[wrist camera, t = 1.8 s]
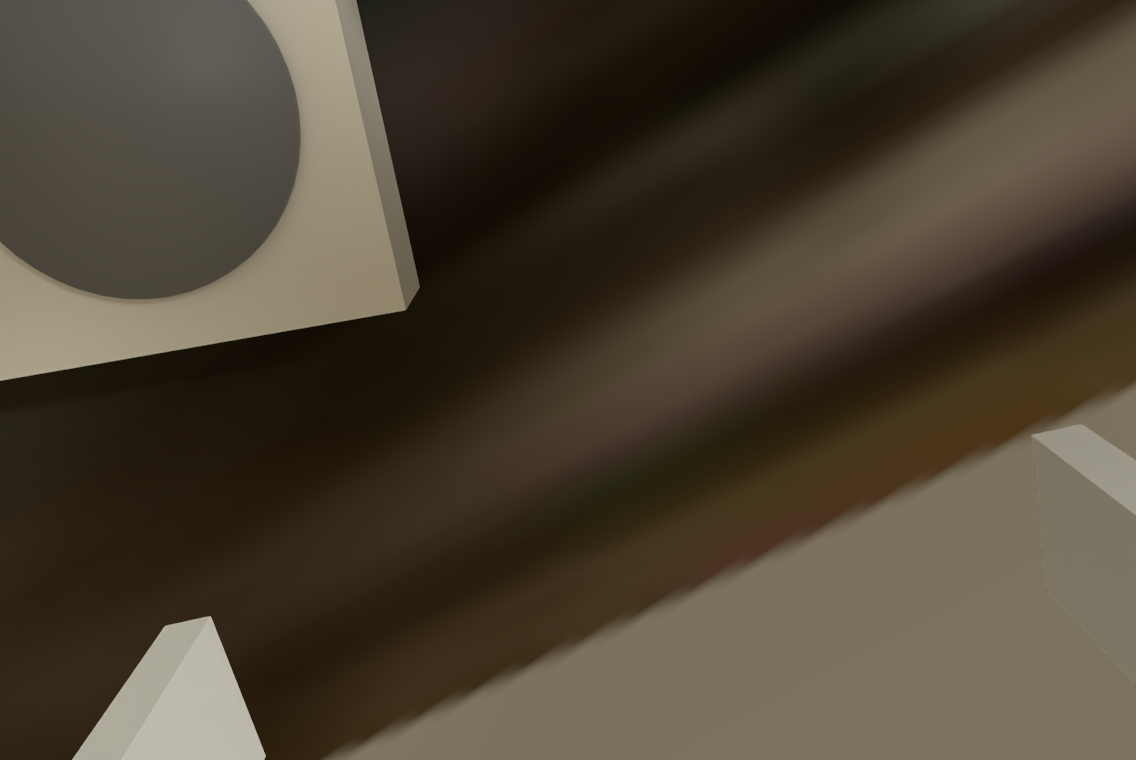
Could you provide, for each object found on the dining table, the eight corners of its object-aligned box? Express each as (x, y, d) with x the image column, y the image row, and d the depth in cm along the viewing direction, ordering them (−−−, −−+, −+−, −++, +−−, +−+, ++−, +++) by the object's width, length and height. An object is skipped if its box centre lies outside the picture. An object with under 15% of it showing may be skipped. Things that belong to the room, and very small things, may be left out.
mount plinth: (-120, -73, 35) (-212, -93, 31) (321, -157, 34) (289, -189, 30) (30, 355, 40) (-32, 388, 35) (419, 287, 39) (404, 312, 35)
